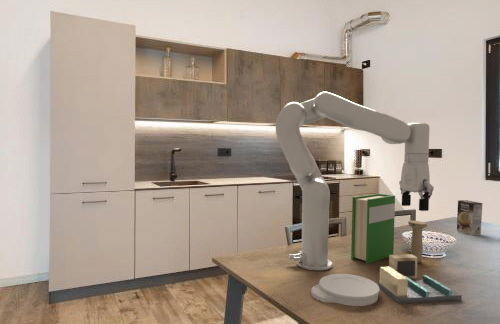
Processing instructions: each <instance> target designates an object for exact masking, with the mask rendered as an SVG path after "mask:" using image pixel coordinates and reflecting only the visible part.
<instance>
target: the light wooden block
mask: <svg viewBox="0 0 500 324" xmlns="http://www.w3.org/2000/svg"><path fill="white" fill-rule="evenodd" d="M417 258H418V257H416V256H414V255H412V254H411V253H410V254H409V253H408V254H407V253H406V254H404V253H403V254H402V253H401V254H393V255H389V257H388V267H390V268H392V269H394V270H395V271H397V272H398V273H400V274H401V275H403V276H406V277H408V278H409V279H417V278H418V262H417Z"/></svg>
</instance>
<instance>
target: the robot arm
mask: <svg viewBox="0 0 500 324" xmlns="http://www.w3.org/2000/svg"><path fill="white" fill-rule="evenodd" d="M324 118H326V119H329V120H331V121H334V122H336V123H338V124H341V125H342V126H345V127H347V128H350V129H353V130H355V131H362V132H367V133H371V134H372V135H375V136H378V137H380V139H382V141H383V142H384V143H386V144H390V145H400V144H404V155H403V156H404V157H403V159H404V160H403V161H404V162H403V164H402V169H401V173H400V174H401V176H400V181H399V183H398V184H399V186H400V187H399V189H400V195H401V206H403V207H407V206H408V207H409V206H412V205H411V201H412V197H411V196H412V195H411V193H418V195H419V199H418V211H420V212H426V211H427V212H428V211H429V209H430V205H429V204H430V199H431V196H433V192H434V186H433V185H432V184H431V181H430V179H431V178H430V177H431V176H430V166H429V153H430V125H429V124H428V123H425V122H411V123H408V124H407V123H406V122H405V121H403V120H401V119H398V118H396V117H393V116H392V115H389V114H386V113H385V112H381V111H379V110H375V109H372V108H370V107H366V106H363V105H361V104H358V103H355V102H354V101H350V100H348V99H347V98H344V97H342V96H339V95H337V94H335V93H331V92H328V91H322V92H319V93H318V94H317V95H316V96H315V97H314V98H312V99H308V100H306V101H303V102H300V103H299V102H297V101H291V102H288V103H287V104H285V105H284V106H283V107H282V109H281V110H280V112H278V115H277V117H276V120H275V134H276V138H277V140H278V143H279V146H280V148H281V150H282V153H283V154H284V158H285V159H286V160H287V163H288V165H289V169H290V170H291V172H292V173H293V175H294V178H295V179H296V181H297V183H298V185H299V187H300V189H301V192H302V193H301V194H302V196H301V200H302V202H301V203H302V204H301V210H302V211H301V250H299V251H298V252H297V253H288V256H287V257H288V260H293V261H294V262H296V264H297V265H298V267H300V268H302V269H305V270H309V271H318V272H319V271H327V270H330V269H331V268H332V267H333V262H332V261H331V260H330V259H329V232H330V231H329V228H330V227H329V225H330V224H329V223H330V222H329V220H330V219H329V218H330V202H331V201H330V200H331V193H330V192H331V191H330V187H329V185H328V183H327V182H326V180H325V178H324V177H323V174H322V173H321V170H320V168H319V167H318V164H317V162H316V160H315V158H314V156H313V155H312V154H311V152H310V150H309V149H308V146H307V145H306V142H305V140H304V138H303V135H302V133H301V129H300V127H303V126H304V125H305V126H306V125H308V124H311V123H314V122H317V121H319V120H322V119H324Z"/></svg>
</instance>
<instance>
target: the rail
mask: <svg viewBox="0 0 500 324" xmlns="http://www.w3.org/2000/svg"><path fill="white" fill-rule="evenodd" d="M377 285H378V286H379V289H380V290H381V291H382V292H384V293H385V294H387V295H388V296H389V297H390V298H391V299H392V300H394V301H395V302H396V303H398V304H400V305H402V304H419V303H420V304H421V303H436V302H439V303H440V302H457V301H458V302H459V301H462V299H463V295H462V294H461V293H459V292H457V291H455V290H453V288H451V287H448V286H447V285H445V284H444V283H442V282H440V281H438V280H436V279H435V278H432V277H431V276H428V275H426V274H422V279H412V278H408V277H406V276H403V275H401V274H400V273H398V272H397V271H395V270H394V269H392V268H390V267H389V266H379V281H377Z"/></svg>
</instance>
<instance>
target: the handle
mask: <svg viewBox="0 0 500 324" xmlns="http://www.w3.org/2000/svg"><path fill="white" fill-rule="evenodd" d="M407 223H408V225H409V226H410V227H411V229H412V233H411V243H410V254H412V255H414V256H416V257H418V258H417V263H421V262H422V256H423V245H424V244H423V229H425V228H427V227H428V223H427V222H425V221H420V220H408V222H407Z"/></svg>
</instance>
